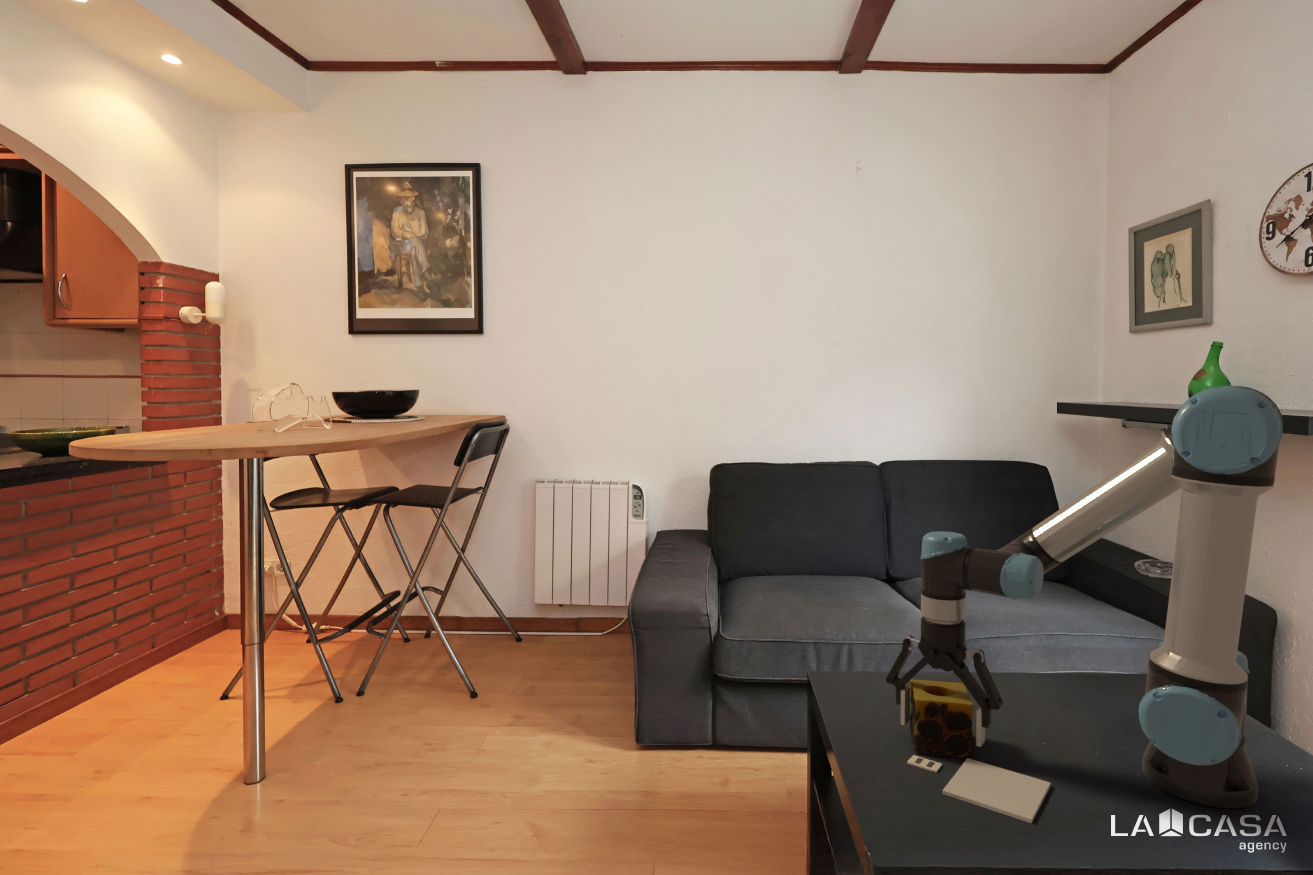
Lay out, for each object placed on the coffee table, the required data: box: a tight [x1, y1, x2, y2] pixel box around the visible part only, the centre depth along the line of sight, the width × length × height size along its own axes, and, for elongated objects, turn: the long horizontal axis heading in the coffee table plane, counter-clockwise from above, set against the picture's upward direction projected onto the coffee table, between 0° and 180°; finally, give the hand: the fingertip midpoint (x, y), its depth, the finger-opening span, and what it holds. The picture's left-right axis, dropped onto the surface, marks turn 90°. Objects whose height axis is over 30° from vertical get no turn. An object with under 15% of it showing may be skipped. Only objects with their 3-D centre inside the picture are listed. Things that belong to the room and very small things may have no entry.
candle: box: [909, 678, 975, 760], centre depth 133 cm, size 10×10×10 cm
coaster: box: [942, 758, 1052, 824], centre depth 118 cm, size 13×13×1 cm
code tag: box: [906, 754, 943, 773], centre depth 126 cm, size 5×3×1 cm, turn 51°
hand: (941, 732), depth 133 cm, fingers open, 13 cm apart
